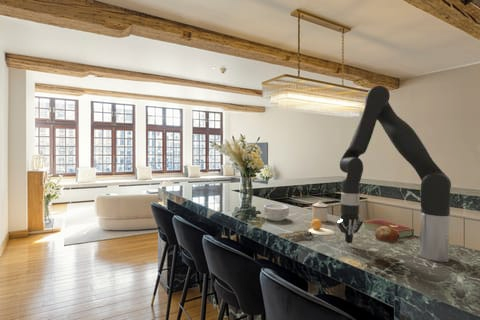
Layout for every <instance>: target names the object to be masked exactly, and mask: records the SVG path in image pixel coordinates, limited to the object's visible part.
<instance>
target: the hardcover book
mask: <svg viewBox="0 0 480 320" xmlns="http://www.w3.org/2000/svg"><path fill="white" fill-rule="evenodd" d="M362 221H363V228H364V227H366V228H365V229H367V228H369V229H368V230H371V231H374V230H375V232H376V230H377V229H378V228H380V227H382V226H388V227H391V228H393V229H394V230H396V231H397V232H398V233H399V235H400V236H399V238H403V237H404V236H405V237H410V234H411V235H412V236H413V235H414V234H415V232H414V231H415V230H414V228H411V227H408V226H404V225H400V224H398V223H397V224H396V223H392V222H389V221H385V220H381V219H370V220H362Z"/></svg>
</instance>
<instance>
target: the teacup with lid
mask: <svg viewBox="0 0 480 320" xmlns="http://www.w3.org/2000/svg"><path fill="white" fill-rule="evenodd" d="M311 206H312V207H311V213H312V221H313V220H314V219H318V220H320V221H321V223H322V222H324V223H325V222H327V221H328V208H329V205H328V204H326V203H324V202H323V201H322V200H318V202H316V203H312V205H311Z"/></svg>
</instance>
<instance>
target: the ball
mask: <svg viewBox="0 0 480 320" xmlns="http://www.w3.org/2000/svg"><path fill="white" fill-rule="evenodd" d="M310 226H311V227H312V228H313V229H316V230H318V229H320V228H323V227H322V226H323V223H322V222H321V221H320V220H318V219H314V220H313V219H312V221H311V223H310ZM312 228H311V229H312Z"/></svg>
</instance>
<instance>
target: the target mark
mask: <svg viewBox="0 0 480 320" xmlns="http://www.w3.org/2000/svg"><path fill="white" fill-rule="evenodd" d="M308 232H309V233H310V232H311V233H310V234H313V235H317V236H334V235H335V234H336V232H335V231H334V230H332V229H330V228H325V227H321V228H320V229H318V230H316V229H313V228H309V229H308Z"/></svg>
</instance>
